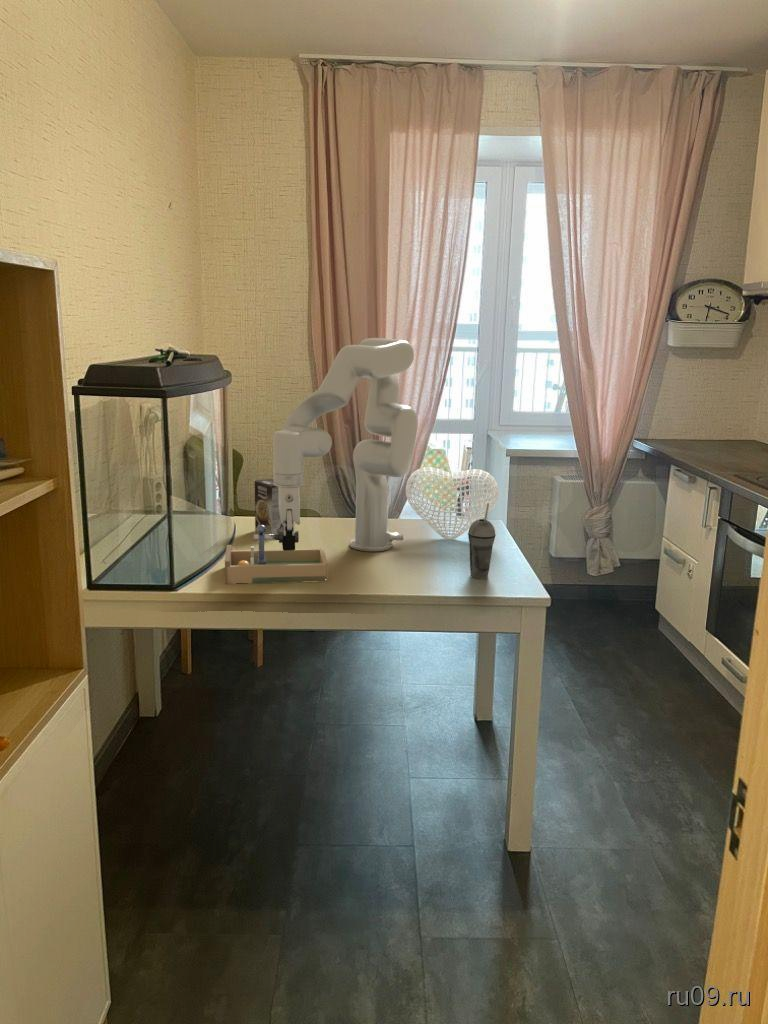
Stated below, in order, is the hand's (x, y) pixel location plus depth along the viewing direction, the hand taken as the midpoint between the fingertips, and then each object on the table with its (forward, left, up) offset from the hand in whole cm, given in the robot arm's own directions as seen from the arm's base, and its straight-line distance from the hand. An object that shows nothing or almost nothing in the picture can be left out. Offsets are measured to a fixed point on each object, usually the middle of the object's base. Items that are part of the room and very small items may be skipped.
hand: (288, 547), depth 205 cm
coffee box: (+4, -39, -7) cm, 40 cm away
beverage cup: (-50, +6, -7) cm, 51 cm away
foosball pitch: (+3, 0, -7) cm, 8 cm away
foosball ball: (+12, 0, -5) cm, 13 cm away
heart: (-50, -28, -7) cm, 58 cm away
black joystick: (+3, 0, -5) cm, 6 cm away
